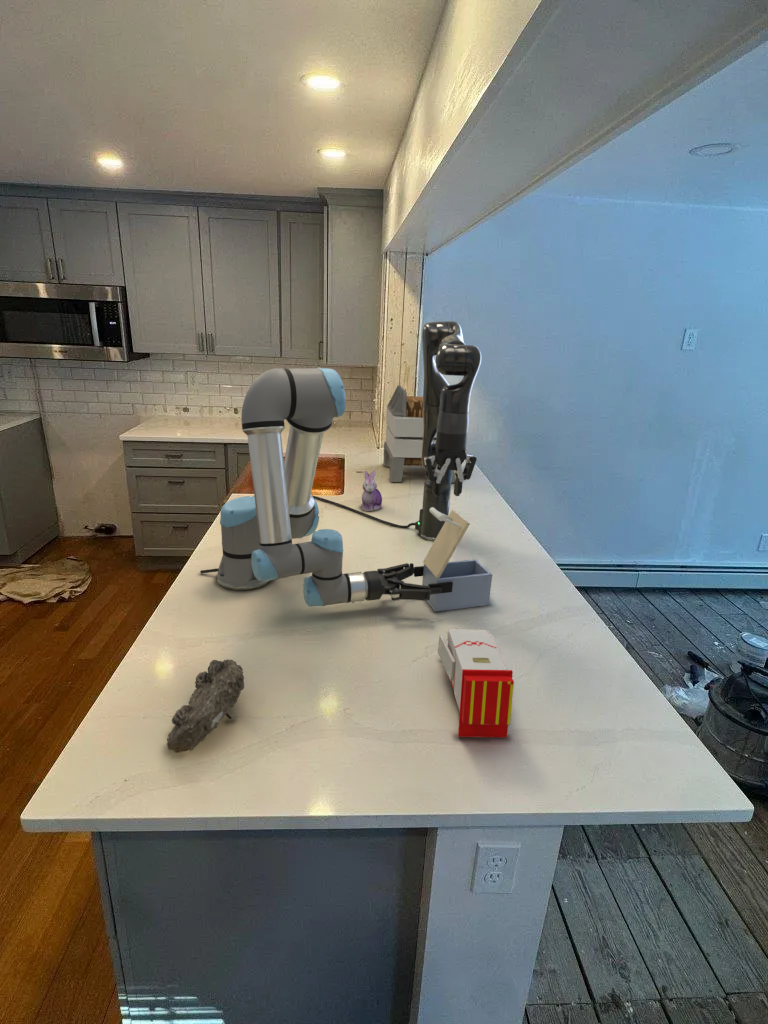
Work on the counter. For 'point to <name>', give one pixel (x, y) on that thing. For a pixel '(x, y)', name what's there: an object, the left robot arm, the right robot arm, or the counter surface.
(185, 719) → the fossil
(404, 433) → the grey crate
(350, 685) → the counter surface
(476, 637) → the toy
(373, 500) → the figurine
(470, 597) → the chest
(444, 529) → the lid
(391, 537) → the counter surface
